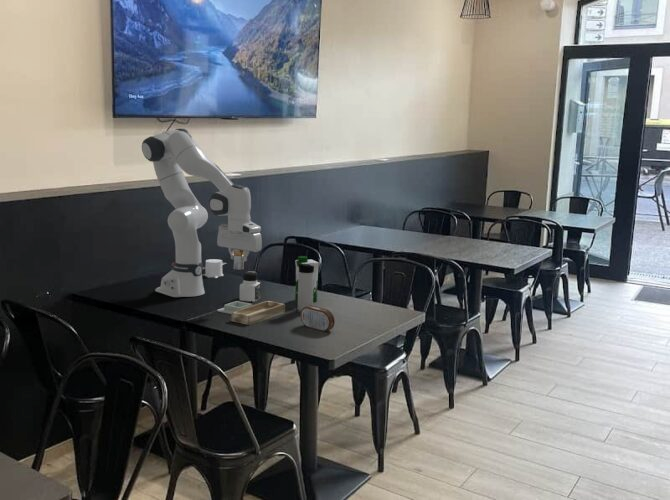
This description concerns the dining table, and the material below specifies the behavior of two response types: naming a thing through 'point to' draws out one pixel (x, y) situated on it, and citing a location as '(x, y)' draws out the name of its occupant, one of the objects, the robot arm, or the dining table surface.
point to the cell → (238, 259)
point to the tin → (317, 318)
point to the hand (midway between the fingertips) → (238, 260)
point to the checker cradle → (234, 307)
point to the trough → (257, 312)
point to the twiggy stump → (214, 268)
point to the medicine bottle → (250, 287)
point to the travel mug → (305, 286)
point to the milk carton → (313, 263)
